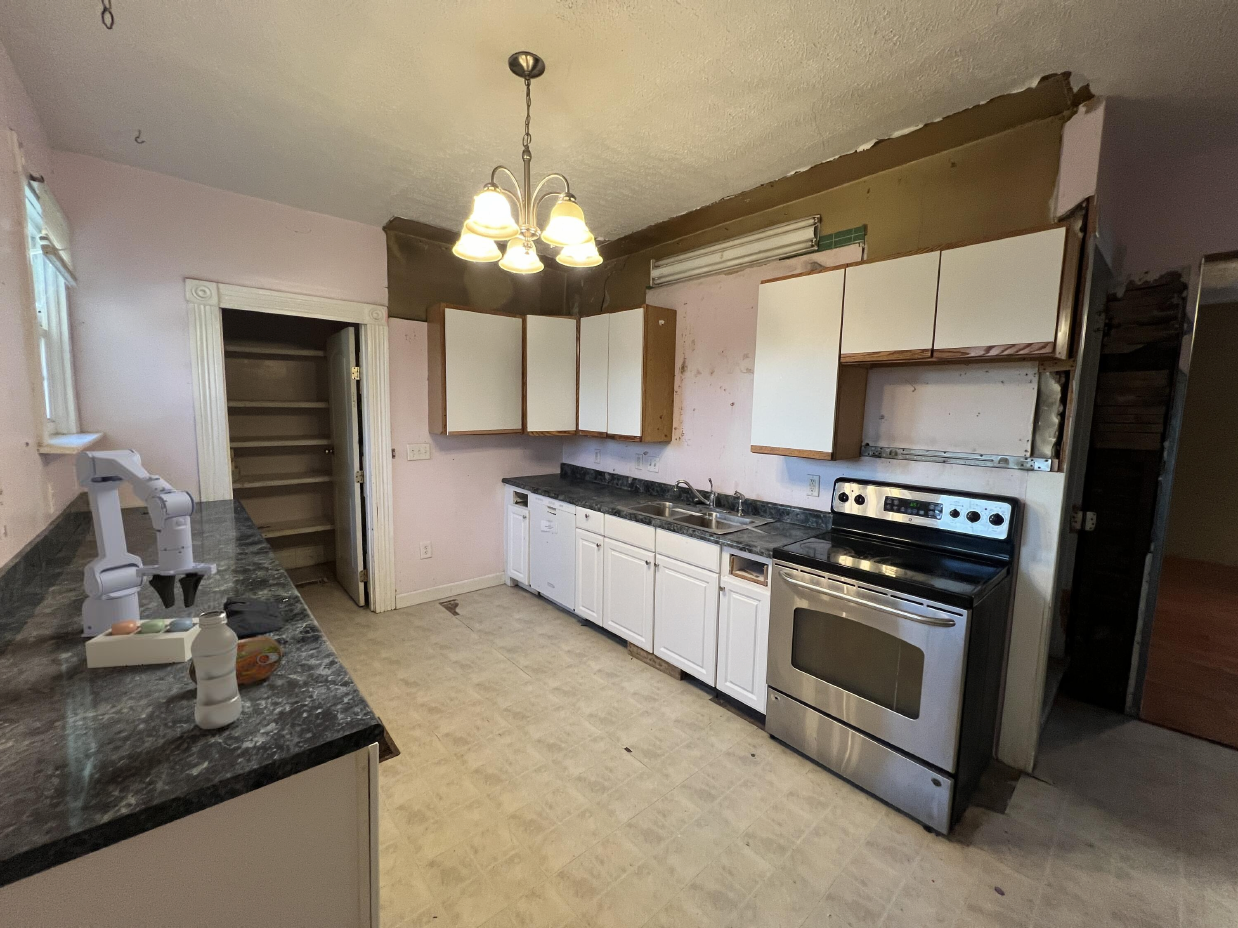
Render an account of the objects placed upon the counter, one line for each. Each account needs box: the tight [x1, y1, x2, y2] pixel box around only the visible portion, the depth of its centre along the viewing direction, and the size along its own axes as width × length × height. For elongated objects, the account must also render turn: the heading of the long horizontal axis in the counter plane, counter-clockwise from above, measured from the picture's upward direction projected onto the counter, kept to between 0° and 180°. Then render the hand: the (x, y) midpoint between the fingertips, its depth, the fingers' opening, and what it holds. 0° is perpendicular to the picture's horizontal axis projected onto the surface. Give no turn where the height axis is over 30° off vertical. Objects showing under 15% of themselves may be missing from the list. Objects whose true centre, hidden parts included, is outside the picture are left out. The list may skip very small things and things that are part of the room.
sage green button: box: [140, 618, 165, 634], centre depth 116 cm, size 4×4×3 cm
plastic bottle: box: [191, 609, 243, 730], centre depth 91 cm, size 6×7×20 cm
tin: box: [188, 636, 283, 686], centre depth 105 cm, size 15×3×8 cm, turn 117°
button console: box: [84, 617, 201, 669], centre depth 116 cm, size 18×11×6 cm, turn 101°
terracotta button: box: [111, 620, 137, 636], centre depth 115 cm, size 4×4×3 cm
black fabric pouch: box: [222, 596, 285, 638], centre depth 133 cm, size 15×22×5 cm
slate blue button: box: [169, 617, 193, 632], centre depth 117 cm, size 4×4×3 cm
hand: (179, 606), depth 116 cm, fingers open, 3 cm apart
